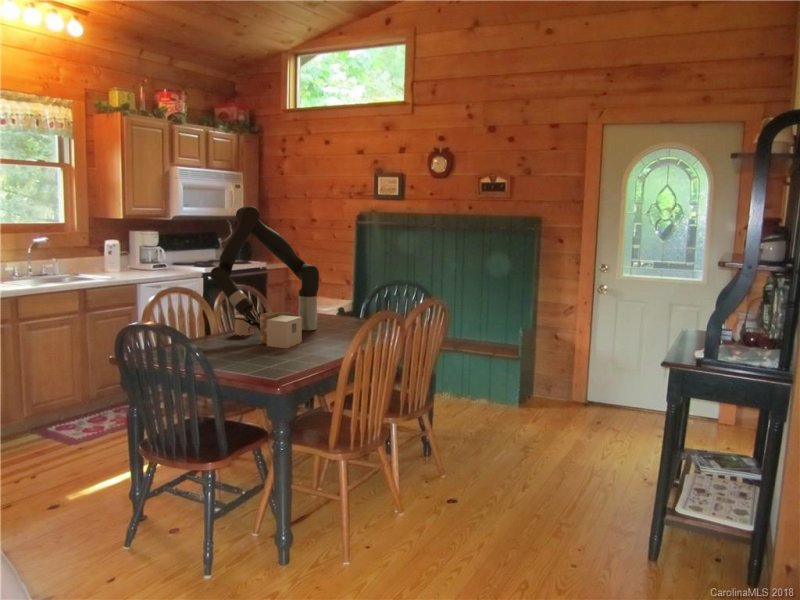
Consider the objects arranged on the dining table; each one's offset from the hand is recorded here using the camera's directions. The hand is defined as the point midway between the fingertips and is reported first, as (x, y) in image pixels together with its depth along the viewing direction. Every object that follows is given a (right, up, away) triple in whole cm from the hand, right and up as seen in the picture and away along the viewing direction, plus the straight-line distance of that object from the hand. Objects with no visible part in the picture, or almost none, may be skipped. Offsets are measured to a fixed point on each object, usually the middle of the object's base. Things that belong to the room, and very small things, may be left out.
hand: (263, 330), depth 301 cm
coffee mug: (+4, -3, +21) cm, 22 cm away
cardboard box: (+10, -6, -3) cm, 12 cm away
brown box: (+8, -5, -2) cm, 10 cm away
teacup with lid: (-13, -3, +18) cm, 23 cm away
